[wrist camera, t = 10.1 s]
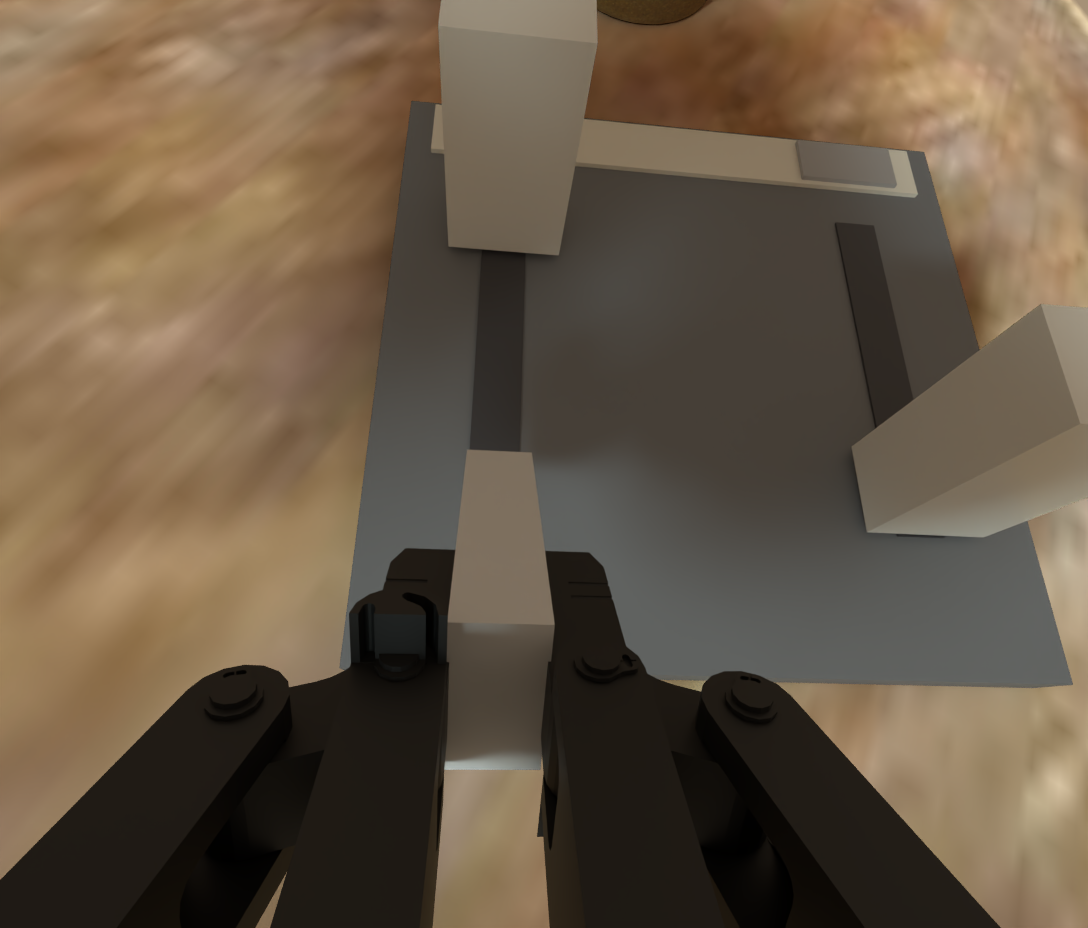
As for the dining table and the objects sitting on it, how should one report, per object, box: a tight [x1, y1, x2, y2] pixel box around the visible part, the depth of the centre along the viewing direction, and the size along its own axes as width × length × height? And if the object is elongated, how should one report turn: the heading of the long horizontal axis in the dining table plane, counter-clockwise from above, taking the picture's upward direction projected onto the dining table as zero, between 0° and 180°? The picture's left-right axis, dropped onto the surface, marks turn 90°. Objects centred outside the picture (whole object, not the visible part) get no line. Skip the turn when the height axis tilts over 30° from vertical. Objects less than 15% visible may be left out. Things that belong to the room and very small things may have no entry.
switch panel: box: [340, 101, 1073, 688], centre depth 24 cm, size 22×22×2 cm
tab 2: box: [852, 304, 1088, 537], centre depth 18 cm, size 3×4×8 cm
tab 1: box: [438, 0, 598, 255], centre depth 21 cm, size 3×4×8 cm
